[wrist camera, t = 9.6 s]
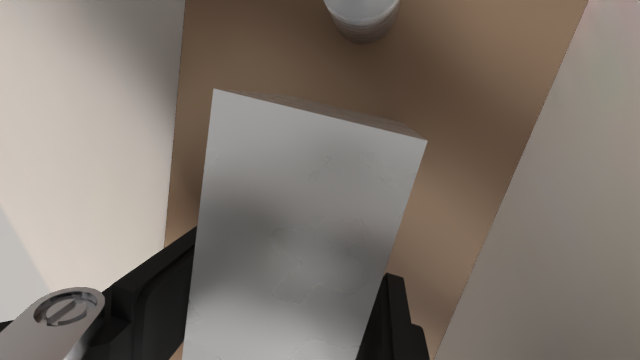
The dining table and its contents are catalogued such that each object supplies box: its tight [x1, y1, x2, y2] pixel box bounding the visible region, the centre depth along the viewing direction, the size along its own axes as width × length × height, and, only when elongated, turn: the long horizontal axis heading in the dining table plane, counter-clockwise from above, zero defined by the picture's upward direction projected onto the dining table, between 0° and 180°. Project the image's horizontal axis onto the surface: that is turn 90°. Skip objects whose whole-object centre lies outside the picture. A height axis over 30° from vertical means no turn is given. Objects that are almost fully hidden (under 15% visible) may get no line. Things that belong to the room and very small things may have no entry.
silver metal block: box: [182, 88, 428, 360], centre depth 9 cm, size 4×12×5 cm, turn 167°
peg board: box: [164, 0, 588, 360], centre depth 11 cm, size 22×12×4 cm, turn 167°
